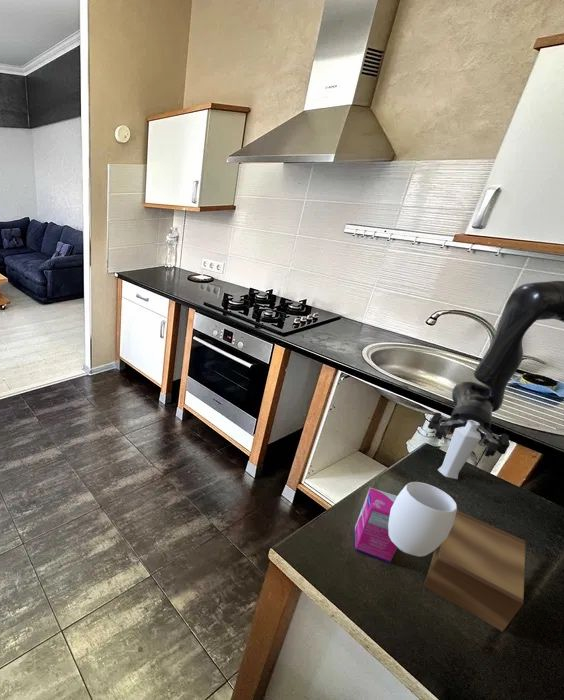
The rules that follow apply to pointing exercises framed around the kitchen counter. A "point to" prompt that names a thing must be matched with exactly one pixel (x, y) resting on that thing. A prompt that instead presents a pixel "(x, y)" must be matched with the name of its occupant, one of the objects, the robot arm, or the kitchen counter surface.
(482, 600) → the wood grain block
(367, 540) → the supplement box
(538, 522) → the kitchen counter surface
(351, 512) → the kitchen counter surface
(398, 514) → the cup
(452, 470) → the perfume bottle
